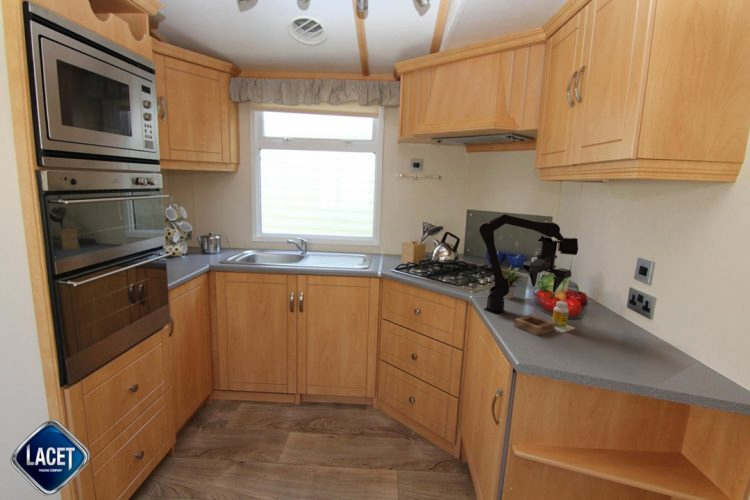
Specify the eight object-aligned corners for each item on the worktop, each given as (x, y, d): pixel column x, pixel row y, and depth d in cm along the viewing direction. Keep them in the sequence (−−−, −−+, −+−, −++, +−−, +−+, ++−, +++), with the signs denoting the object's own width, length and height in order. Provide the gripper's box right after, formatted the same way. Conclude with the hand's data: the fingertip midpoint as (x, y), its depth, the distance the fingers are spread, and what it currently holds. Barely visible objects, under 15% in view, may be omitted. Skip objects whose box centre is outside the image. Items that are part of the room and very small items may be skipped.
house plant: (492, 300, 178) (495, 266, 175) (487, 291, 191) (490, 260, 188) (523, 302, 176) (527, 269, 173) (516, 294, 190) (520, 262, 187)
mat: (543, 325, 148) (544, 324, 148) (555, 322, 153) (555, 320, 153) (563, 332, 142) (563, 331, 142) (574, 328, 146) (574, 327, 146)
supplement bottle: (556, 322, 151) (559, 299, 149) (569, 327, 147) (572, 303, 145) (548, 324, 148) (551, 301, 146) (561, 329, 144) (565, 305, 142)
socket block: (513, 326, 146) (514, 319, 146) (530, 321, 152) (531, 314, 151) (538, 336, 138) (539, 328, 137) (554, 330, 143) (555, 323, 143)
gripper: (516, 250, 157) (512, 285, 160) (558, 258, 141) (553, 298, 144) (532, 248, 163) (528, 282, 166) (574, 256, 147) (569, 294, 150)
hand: (543, 289), depth 156 cm, fingers open, 9 cm apart
